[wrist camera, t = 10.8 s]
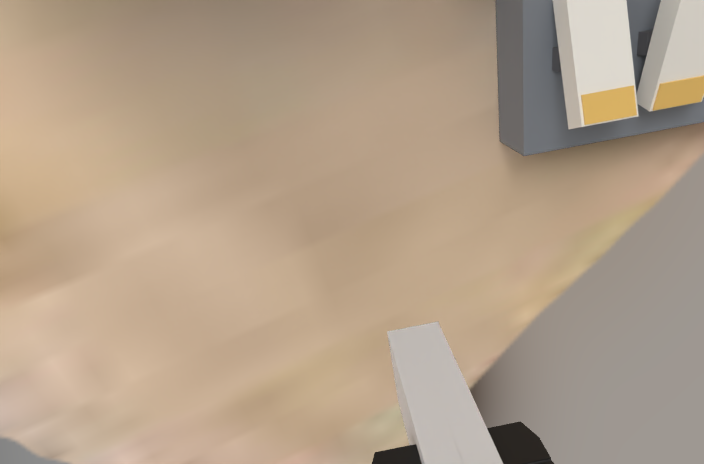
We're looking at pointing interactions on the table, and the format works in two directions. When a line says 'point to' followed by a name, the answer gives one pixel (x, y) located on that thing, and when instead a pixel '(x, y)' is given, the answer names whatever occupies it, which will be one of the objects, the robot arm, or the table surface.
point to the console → (547, 85)
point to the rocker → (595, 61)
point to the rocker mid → (674, 57)
